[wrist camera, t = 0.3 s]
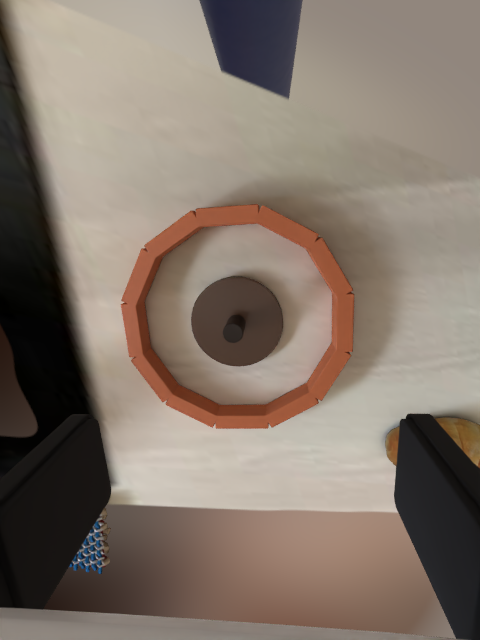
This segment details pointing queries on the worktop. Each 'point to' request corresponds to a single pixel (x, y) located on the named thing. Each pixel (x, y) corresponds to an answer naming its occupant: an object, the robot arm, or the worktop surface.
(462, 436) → the pastry
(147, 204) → the worktop surface
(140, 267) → the ring
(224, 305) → the ring post
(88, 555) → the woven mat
